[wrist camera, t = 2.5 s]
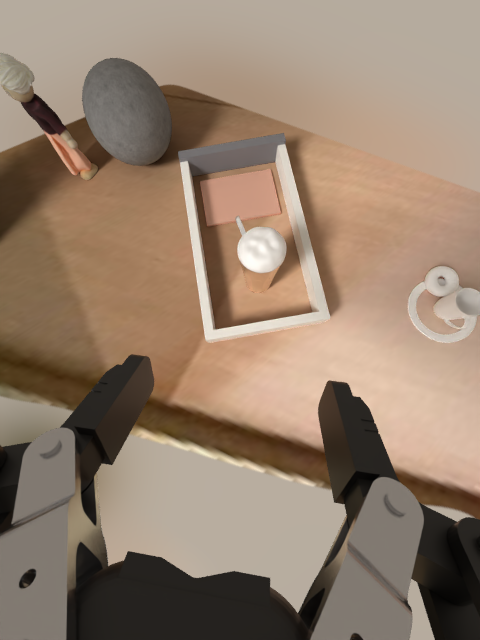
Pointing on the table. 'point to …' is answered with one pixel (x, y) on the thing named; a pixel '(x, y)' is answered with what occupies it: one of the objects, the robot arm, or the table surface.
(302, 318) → the tray
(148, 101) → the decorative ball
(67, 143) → the grandmother figurine
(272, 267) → the milkshake
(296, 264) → the table surface
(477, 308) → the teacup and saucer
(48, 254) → the table surface
